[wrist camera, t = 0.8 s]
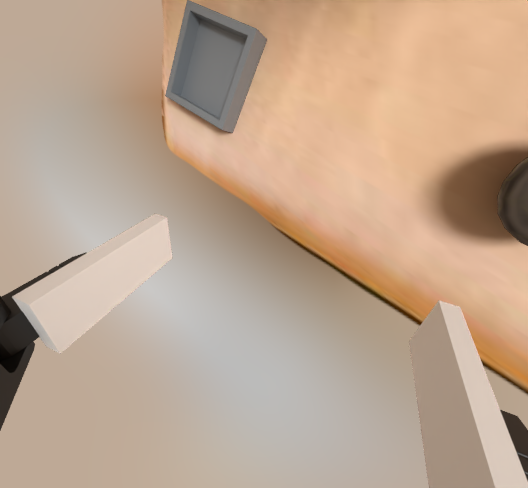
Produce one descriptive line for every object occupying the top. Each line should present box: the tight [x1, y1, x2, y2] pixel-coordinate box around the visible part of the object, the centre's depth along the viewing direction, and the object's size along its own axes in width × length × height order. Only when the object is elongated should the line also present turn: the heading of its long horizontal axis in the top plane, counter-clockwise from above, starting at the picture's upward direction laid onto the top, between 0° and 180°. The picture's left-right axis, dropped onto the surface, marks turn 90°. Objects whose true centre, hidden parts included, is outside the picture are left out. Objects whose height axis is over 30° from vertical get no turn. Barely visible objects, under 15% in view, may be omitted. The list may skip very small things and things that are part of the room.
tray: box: [165, 0, 267, 133], centre depth 38 cm, size 13×13×3 cm
